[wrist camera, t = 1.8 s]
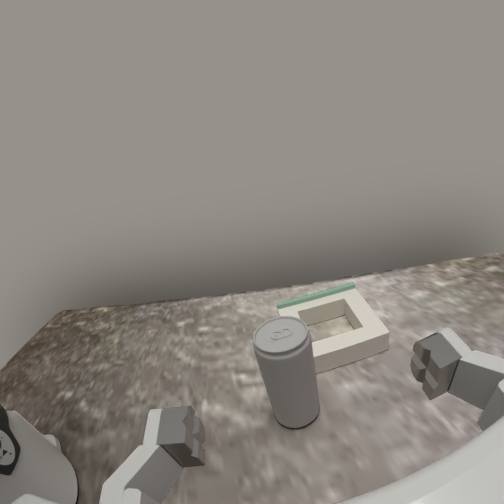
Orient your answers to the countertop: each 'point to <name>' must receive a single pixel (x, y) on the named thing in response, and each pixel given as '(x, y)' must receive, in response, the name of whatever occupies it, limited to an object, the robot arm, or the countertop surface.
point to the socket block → (346, 344)
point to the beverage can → (288, 369)
